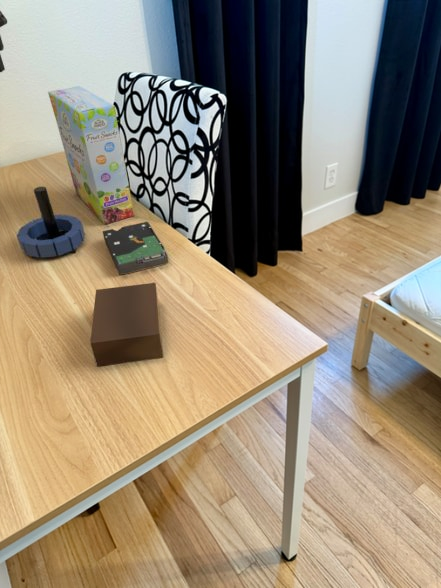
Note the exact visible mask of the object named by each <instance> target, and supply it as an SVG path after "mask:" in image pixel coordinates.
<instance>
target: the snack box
mask: <svg viewBox="0 0 441 588" xmlns="http://www.w3.org/2000/svg"><path fill="white" fill-rule="evenodd" d="M47 94H48V98H49V100H50V101H49V102H50V104H51V108H52V111H53V115H54V118H55V122H56V125H57V129H58V132H59V137H60V140H61V143H62V146H63V149H64V154H65V158H66V162H67V165H68V170H69V173H70V176H71V179H72V183H73V187H74V191H75V194H76V195H77V196H78V197H79V198H80V199H81V200H82V201H83V202H84V204H86V206H87V207H88V208H89V209H90V210H91V211H92V212H93V213H94V214H95V215H96V216H97V218H98V219H99V220H100V221H101V222H102V223H103V225H109V224H112V223H115V222H118V221H122V220H124V219H128V218H132V217H135V215H136V214H135V211H134V204H133V199H132V195H131V188H130V183H129V180H128V179H129V178H128V173H127V167H126V161H125V157H124V151H123V146H122V139H121V133H120V129H119V123H118V118H117V113H116V107H115V105H114V104H113V103H111V102H109V101H108V100H106V99H105V98H102V97H100V96H98V95H96V94H94V93H93V92H91V91H89V90H88V89H86V88H84V87H83V86H80V85H78V86H72V87H68V88H67V87H66V88H59V89H55V90H50V91H47Z"/></svg>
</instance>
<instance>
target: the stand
mask: <svg viewBox="0 0 441 588" xmlns="http://www.w3.org/2000/svg"><path fill="white" fill-rule="evenodd" d="M157 290H158V289H157V283H156V282H149V283H142V284H141V283H140V284H131V285H124V286H123V285H122V286H117V287H115V286H114V287H106V288H98V289H95V295H94V303H93V304H94V306H93V314H92V323H91V332H90V342H89V344H90V347H91V350H92V354H93V357H94V360H95V363H96V367H103V366H111V365H119V364H125V363H126V364H127V363H132V362H141V361H146V360H147V361H149V360H153V359H162V358H164V349H163V336H162V326H161V325H162V324H161V312H160V311H161V310H160V303H159V296H158V295H159V294H158V291H157Z"/></svg>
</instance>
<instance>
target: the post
mask: <svg viewBox="0 0 441 588" xmlns="http://www.w3.org/2000/svg"><path fill="white" fill-rule="evenodd" d="M33 193H34V196H35V199H36V202H37V206H38V208H39V212H40V215H41V218H43V222H44V225H45V228H46V231H47V233H45V234H42V235H40V236H39V237H37V238H36V240H49V239H54V238H57V237H60V236H63V235H65V234H66V233H67V232H68V231H63V230H61V231H59V230H58V226H57V223H56V220H55V216H54V215H55V213H54V210H53V206H52V203H51V200H50V196H49V193H48V189H47V187H46V186H37V187H35V188H33ZM77 248H78V247H77ZM77 248H75V249H72V251H70V252H67V253H64V254H62V255H71V254H76V253H77ZM62 255H61V256H62ZM56 256H58V254H57V255H56ZM30 257H31V258H32V259H34V258H36V259H37V257H34V256H30Z"/></svg>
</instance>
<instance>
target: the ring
mask: <svg viewBox="0 0 441 588" xmlns="http://www.w3.org/2000/svg"><path fill="white" fill-rule="evenodd" d="M54 216H55V220H56V223H57V226H58V230H59V231H68V232H67V233H66V234H65V235H63V236H60V237H57V238H54V239H49V240H36V238H37V237H39V236H40V235H42V234H45V233H47V231H46V228H45V225H44V222H43V218H42V217H39V218H35V219H33V220H31V221H29V222H27V223H26V224H24V225H23V226H21V227H20V228H19V229H18V232H17V234H16V239H17V241H18V244H19V246H20V249H21V250H22V251H23V252H24V254H26V255H27V256H29V257H31V256H34V257H36V258H38V259H39V258H42V259H43V258H52V257H53V258H54V257H57V256H62V254H63V255H65V254H64V253H67V252H70V251H72V249H75V248H78V247H79V246H81V244H83V243H84V240H85V235H86V234H85V231H84V226H83V222H82V220H80V219H79V218H77V217H76V216H73V215H68V214H54ZM57 254H58V255H57Z"/></svg>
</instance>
